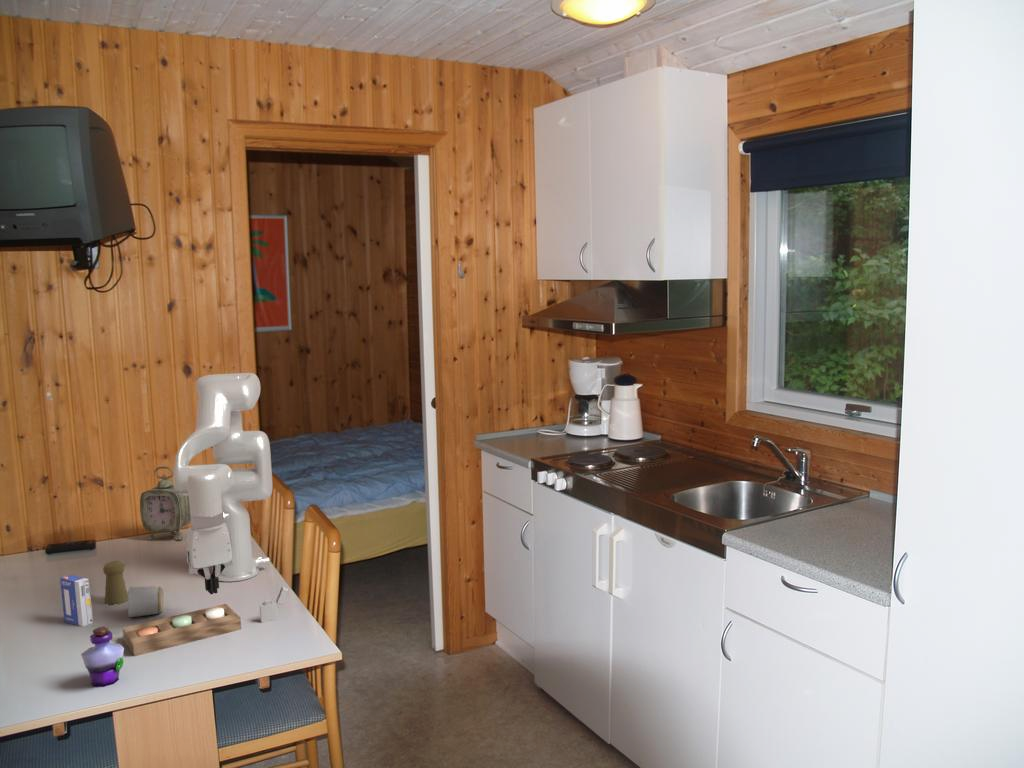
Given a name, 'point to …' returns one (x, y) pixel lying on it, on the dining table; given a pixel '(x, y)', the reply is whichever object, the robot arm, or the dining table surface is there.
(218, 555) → the robot arm
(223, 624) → the button deck
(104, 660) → the potion bottle
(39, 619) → the dining table surface
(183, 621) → the sage button
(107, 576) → the cork
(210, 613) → the cream button
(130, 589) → the ceramic mug
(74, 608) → the walkman
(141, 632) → the terracotta button
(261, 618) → the lighter
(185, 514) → the tabletop clock
